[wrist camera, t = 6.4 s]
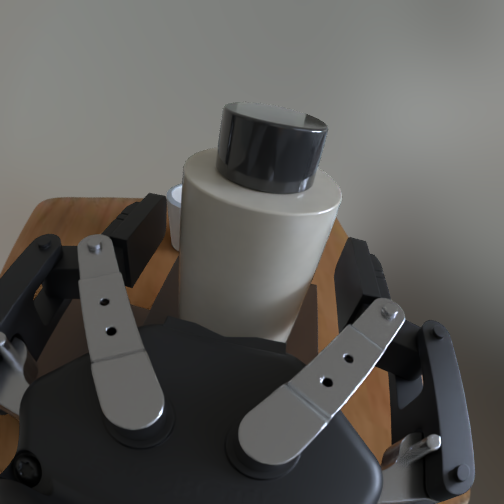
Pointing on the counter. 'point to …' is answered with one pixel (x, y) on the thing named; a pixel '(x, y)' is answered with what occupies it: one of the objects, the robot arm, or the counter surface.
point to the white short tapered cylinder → (174, 213)
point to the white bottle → (254, 222)
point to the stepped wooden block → (166, 304)
